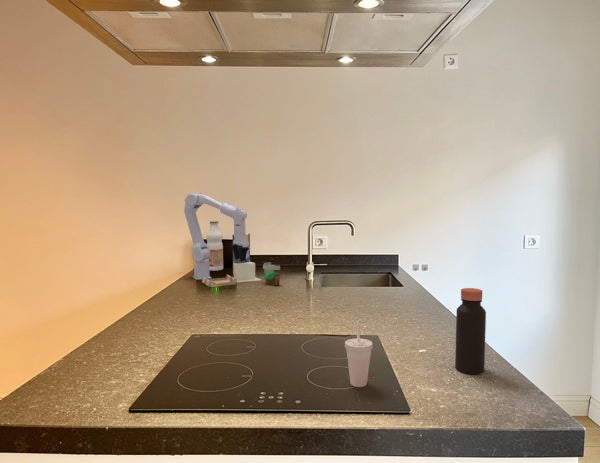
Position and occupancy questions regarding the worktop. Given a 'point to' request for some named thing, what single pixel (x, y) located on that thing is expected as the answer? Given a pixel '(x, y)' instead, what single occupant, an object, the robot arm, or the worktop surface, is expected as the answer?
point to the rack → (210, 281)
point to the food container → (271, 274)
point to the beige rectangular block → (244, 271)
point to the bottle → (470, 332)
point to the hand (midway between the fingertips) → (239, 260)
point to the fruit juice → (215, 247)
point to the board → (249, 280)
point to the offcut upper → (221, 282)
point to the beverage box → (247, 259)
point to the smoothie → (358, 359)
